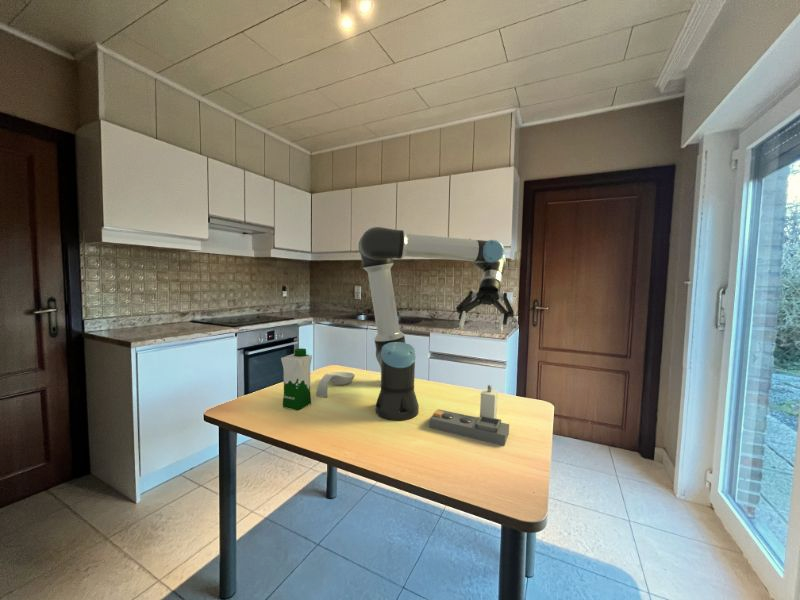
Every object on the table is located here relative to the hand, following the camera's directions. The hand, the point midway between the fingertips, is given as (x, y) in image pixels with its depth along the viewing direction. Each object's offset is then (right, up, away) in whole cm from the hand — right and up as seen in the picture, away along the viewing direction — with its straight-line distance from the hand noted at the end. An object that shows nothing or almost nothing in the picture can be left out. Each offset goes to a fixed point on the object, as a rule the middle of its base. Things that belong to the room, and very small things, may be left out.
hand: (480, 329), depth 115 cm
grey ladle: (-55, -27, +25) cm, 66 cm away
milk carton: (-65, -28, +5) cm, 71 cm away
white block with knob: (+2, -30, -4) cm, 30 cm away
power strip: (-6, -31, -11) cm, 33 cm away
